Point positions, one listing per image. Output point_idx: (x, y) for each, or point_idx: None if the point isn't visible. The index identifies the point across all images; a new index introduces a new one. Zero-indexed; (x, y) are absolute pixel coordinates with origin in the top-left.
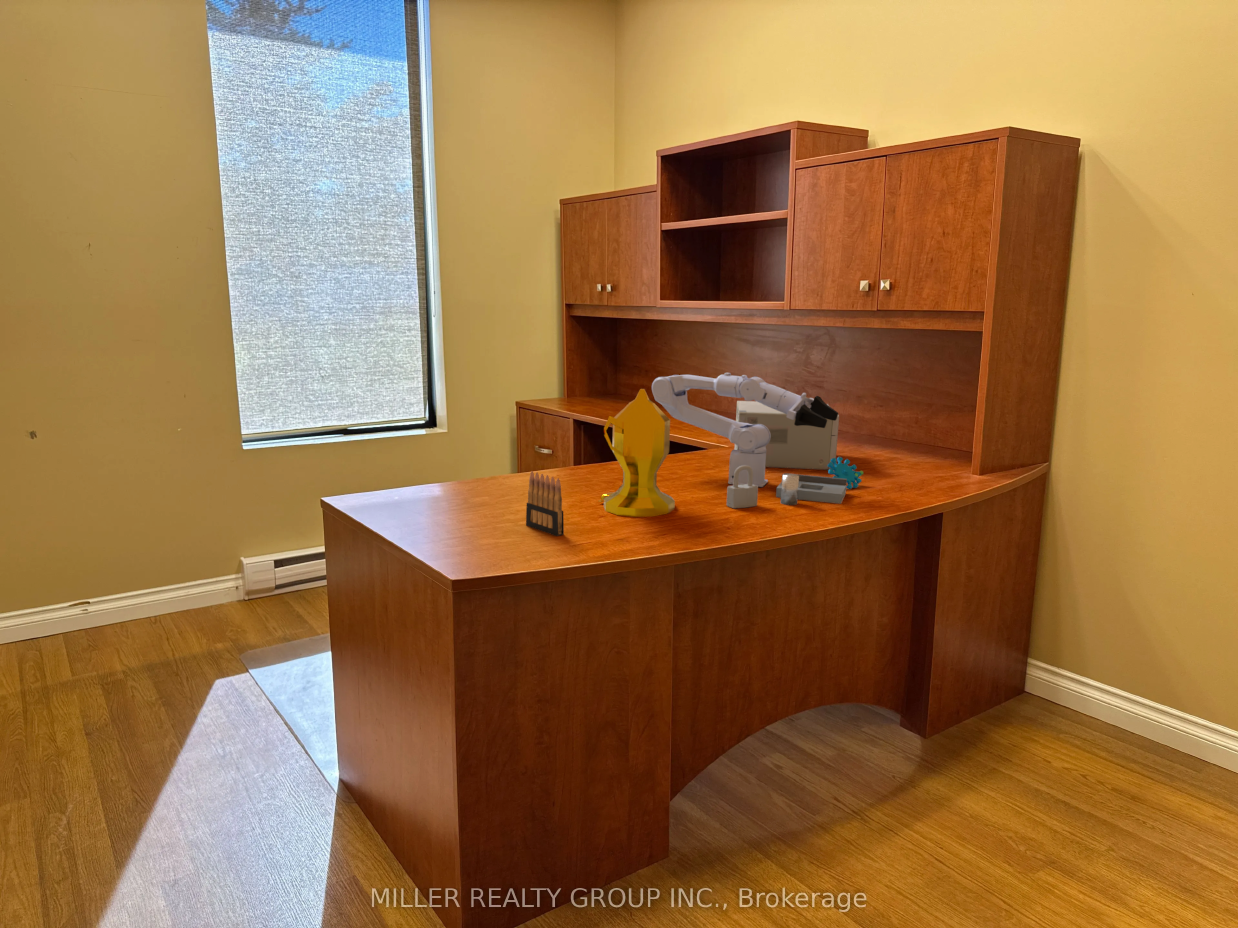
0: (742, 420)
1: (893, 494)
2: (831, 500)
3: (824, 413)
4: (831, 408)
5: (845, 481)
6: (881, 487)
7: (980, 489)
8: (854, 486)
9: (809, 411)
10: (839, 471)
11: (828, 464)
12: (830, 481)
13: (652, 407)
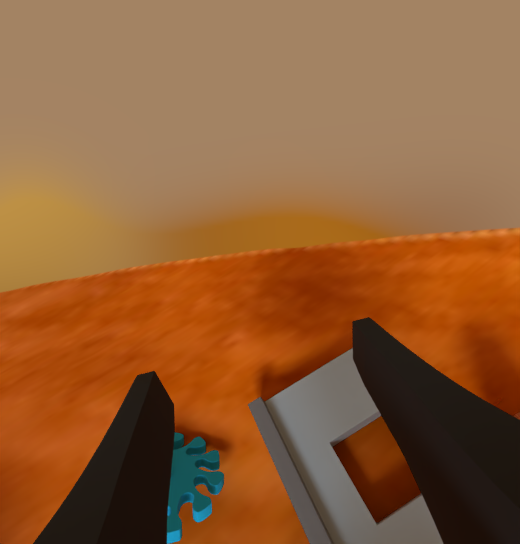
0: None
1: (179, 342)
2: None
3: (153, 498)
4: (118, 426)
5: (263, 400)
6: None
7: (41, 287)
8: (183, 439)
9: (508, 418)
10: (175, 487)
11: (179, 533)
12: (285, 445)
13: None
